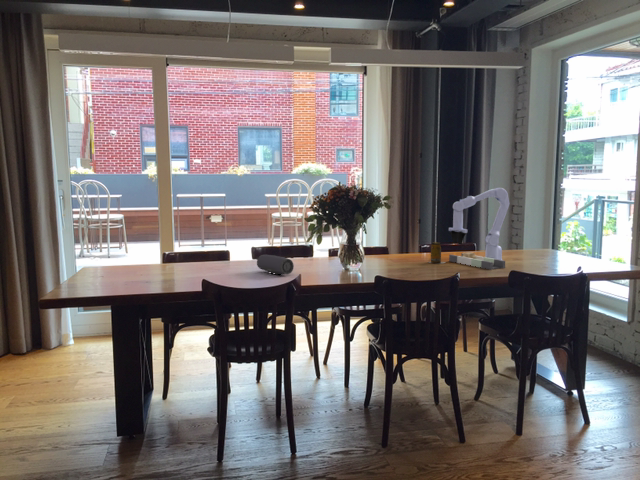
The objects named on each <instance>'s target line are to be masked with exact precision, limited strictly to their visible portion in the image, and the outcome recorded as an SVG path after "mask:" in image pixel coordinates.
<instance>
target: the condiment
mask: <svg viewBox="0 0 640 480" xmlns="http://www.w3.org/2000/svg"><path fill="white" fill-rule="evenodd" d="M428 263H430V264H438V265H441V264H446V263H447V262H446V261H445V262H444V261H442V247H441V242H437V241H434V242H431V247H430V261H428Z"/></svg>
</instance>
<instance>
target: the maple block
mask: <svg viewBox="0 0 640 480" xmlns="http://www.w3.org/2000/svg"><path fill="white" fill-rule="evenodd" d="M462 253H463V257H467V258H473V259H475V255H476V252H472V251H471V252H470V251H467V252H462Z"/></svg>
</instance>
